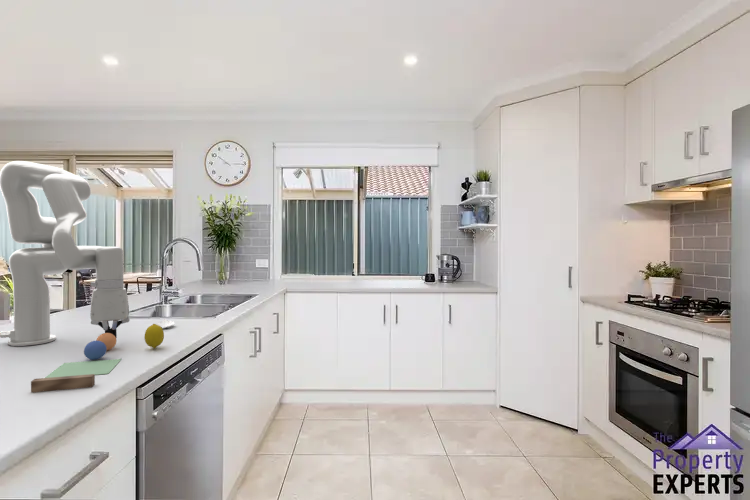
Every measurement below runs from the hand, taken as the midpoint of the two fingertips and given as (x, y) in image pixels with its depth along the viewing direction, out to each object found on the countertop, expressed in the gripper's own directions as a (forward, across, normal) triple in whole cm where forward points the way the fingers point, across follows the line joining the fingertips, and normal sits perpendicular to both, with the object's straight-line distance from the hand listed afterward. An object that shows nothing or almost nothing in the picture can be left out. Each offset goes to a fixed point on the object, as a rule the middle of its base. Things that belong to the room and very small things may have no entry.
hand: (110, 341), depth 138 cm
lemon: (+2, +13, -7) cm, 15 cm away
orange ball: (-1, 0, -4) cm, 4 cm away
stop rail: (+2, -2, -40) cm, 40 cm away
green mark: (+2, -2, -24) cm, 24 cm away
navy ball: (-1, -1, -15) cm, 15 cm away
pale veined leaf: (+2, +13, +28) cm, 31 cm away
